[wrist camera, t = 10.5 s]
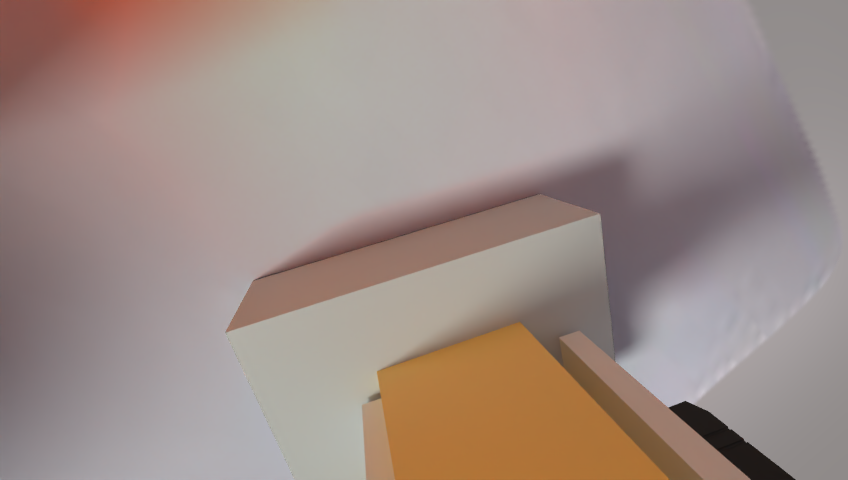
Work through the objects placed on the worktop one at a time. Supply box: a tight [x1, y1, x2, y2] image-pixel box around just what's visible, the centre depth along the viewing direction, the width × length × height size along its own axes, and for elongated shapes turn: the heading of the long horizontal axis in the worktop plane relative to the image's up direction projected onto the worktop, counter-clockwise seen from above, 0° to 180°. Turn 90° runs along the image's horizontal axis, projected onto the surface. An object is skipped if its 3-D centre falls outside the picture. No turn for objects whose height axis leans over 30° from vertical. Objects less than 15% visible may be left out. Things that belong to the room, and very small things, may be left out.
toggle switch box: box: [225, 194, 615, 480], centre depth 13 cm, size 12×10×8 cm
